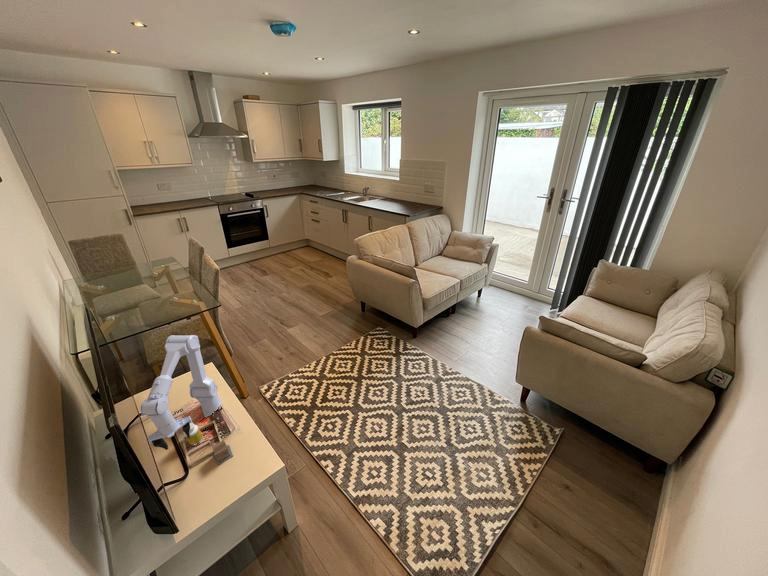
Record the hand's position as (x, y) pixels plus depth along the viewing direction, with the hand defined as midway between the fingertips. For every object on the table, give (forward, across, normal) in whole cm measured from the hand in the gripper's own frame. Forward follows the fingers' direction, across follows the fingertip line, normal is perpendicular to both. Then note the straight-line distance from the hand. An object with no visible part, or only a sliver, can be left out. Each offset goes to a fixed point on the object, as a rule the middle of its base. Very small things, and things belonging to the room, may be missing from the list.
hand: (178, 441), depth 121 cm
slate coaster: (+10, +12, -10) cm, 18 cm away
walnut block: (+10, +12, -10) cm, 18 cm away
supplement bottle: (+10, +4, +5) cm, 12 cm away
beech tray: (+10, +6, +1) cm, 12 cm away
